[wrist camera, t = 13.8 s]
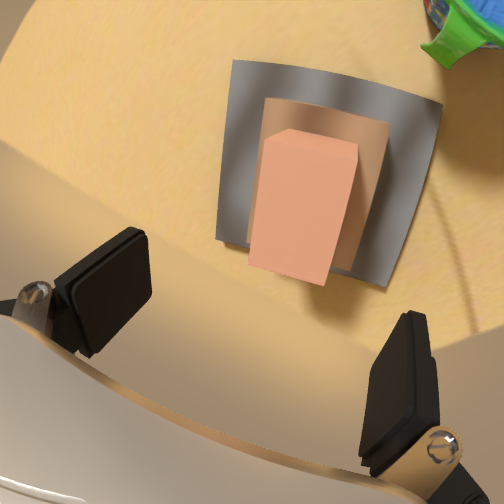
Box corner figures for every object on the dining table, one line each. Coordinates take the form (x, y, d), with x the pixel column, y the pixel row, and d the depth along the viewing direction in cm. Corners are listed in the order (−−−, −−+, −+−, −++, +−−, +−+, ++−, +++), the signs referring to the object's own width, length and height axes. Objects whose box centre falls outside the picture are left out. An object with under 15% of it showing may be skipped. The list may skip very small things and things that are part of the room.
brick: (357, 144, 19) (357, 160, 14) (333, 243, 24) (324, 286, 19) (288, 128, 21) (264, 139, 16) (272, 227, 25) (247, 264, 20)
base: (438, 104, 20) (457, 106, 15) (385, 278, 29) (387, 312, 25) (239, 61, 24) (213, 54, 19) (221, 233, 33) (197, 257, 29)
